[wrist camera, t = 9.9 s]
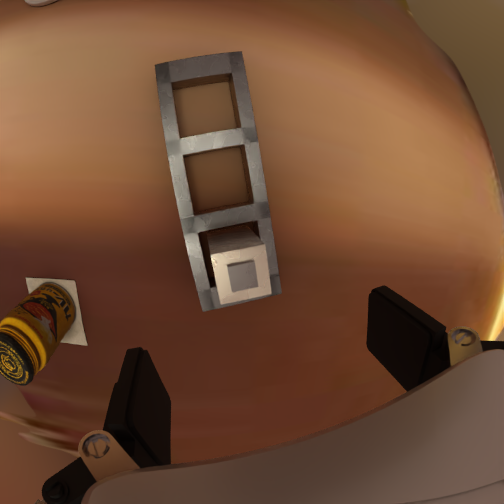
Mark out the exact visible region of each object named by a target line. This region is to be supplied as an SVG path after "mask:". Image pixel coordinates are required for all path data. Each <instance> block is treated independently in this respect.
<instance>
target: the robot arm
mask: <svg viewBox="0 0 504 504" xmlns="http://www.w3.org/2000/svg"><path fill="white" fill-rule="evenodd" d="M55 1H57V0H25V2H26V3H27V4H29V5H30V6H43V5H47V4H50V3H53V2H55ZM445 330H446V327H445V326H444V325H443V324H441V323H440V322H438V321H437V320H435V319H434V318H433V317H431V316H430V315H428V314H427V313H425V312H424V311H422V310H421V309H419V308H418V307H417V306H415V305H414V304H412V303H411V302H409V301H408V300H406V299H405V298H403V297H402V296H400V295H399V294H397V293H396V292H394V291H393V290H391V289H390V288H388V287H387V286H380V287H377V288H375V289H373V290H372V291H371V293H370V294H369V302H368V327H367V348H368V350H369V351H370V352H371V353H372V354H373V355H374V356H375V357H376V358H377V359H378V361H379V362H380V363H381V364H382V365H383V366H384V367H385V368H386V369H387V370H388V371H389V372H390V373H391V375H392V376H393V377H394V378H395V379H396V380H397V381H398V382H399V383H400V384H401V385H402V386H403V388H404V389H405V390H406V391H407V392H406V393H404V394H402V395H401V396H399V397H397V398H395V399H393V400H391V401H389V402H387V403H385V404H383V405H381V406H379V407H377V408H374V409H372V410H370V411H368V412H366V413H363V414H361V415H359V416H357V417H354V418H352V419H350V420H347V421H345V422H342V423H340V424H337V425H335V426H332V427H329V428H327V429H324V430H321V431H318V432H315V433H313V434H310V435H307V436H304V437H301V438H297V439H294V440H291V441H287V442H284V443H281V444H277V445H273V446H270V447H266V448H262V449H258V450H254V451H249V452H245V453H240V454H235V455H230V456H225V457H219V458H214V459H208V460H201V461H195V462H187V463H179V464H171V452H170V431H171V401H170V397H169V395H168V393H167V391H166V389H165V387H164V385H163V383H162V381H161V379H160V377H159V375H158V373H157V370H156V368H155V366H154V364H153V362H152V360H151V357H150V355H149V353H148V351H147V350H143V349H142V348H141V347H138V348H132V349H128V350H127V352H126V355H125V358H124V362H123V365H122V368H121V372H120V375H119V379H118V382H117V383H115V385H114V388H113V392H112V395H111V399H110V403H109V407H108V411H107V415H106V419H105V423H104V427H103V431H102V430H97V431H92V432H90V433H88V434H87V435H85V436H84V437H83V438H82V440H81V441H80V444H79V450H78V451H79V454H80V456H81V457H79V458H78V459H77V460H75V461H74V462H72V463H71V464H69V465H68V466H66V467H65V468H64V469H62V470H61V471H59V472H58V473H56V474H55V475H53V476H52V477H51V478H49V479H48V480H47V481H46V482H45V483H44V485H43V488H42V496H43V500H42V501H40V500H37V501H36V503H35V504H504V341H480V338H479V335H478V333H477V332H476V331H474V330H473V329H471V328H468V327H456V328H453V329H452V330H450V331H449V333H448V334H447V333H446V332H445Z"/></svg>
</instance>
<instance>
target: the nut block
mask: <svg viewBox="0 0 504 504" xmlns="http://www.w3.org/2000/svg"><path fill="white" fill-rule="evenodd" d="M207 237H208V243H209V249H210V255H211V260H212V265H213V270H214V275H215V280H216V285H217V289H218V294H219V299H220V304H221V305H222V304H227V303H231V302H236V301H241V300H246V299H251V298H255V297H260V296H264V295H269V294H272V292H271V285H270V277H269V269H268V262H267V254H266V247H265V244H264V243H263V242H262V241H261V240H260V239H259V237H258V236H257V235H256V234H255V233H254V232H253V231H252V230H251V229H250V228H249V227H248V226H247V225H244V226H238V227H233V228H228V229H222V230H217V231H212V232H207Z"/></svg>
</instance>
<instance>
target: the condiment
mask: <svg viewBox="0 0 504 504" xmlns="http://www.w3.org/2000/svg"><path fill="white" fill-rule="evenodd" d="M26 281H27V286H28V291H29V295H28V296H27V297H25V298H24V300H22V301H21V302H20V303H19V304H18V305H17V306H16V307H15V308H14V309H13V310H11V311H10V312H9V313H8V314H7V315H6V316H5V318H3V319H2V321H1V323H0V373H1V374H2V375H3V376H4V377H5V378H6V379H7V380H9V381H11V382H12V383H15V384H18V385H27V384H29V383H30V382H31V381H32V380H33V377H34V376H35V375H36V374H37V372H38V371H40V370H41V369H43V368H44V366H45V365H46V364H47V363H48V361H49V359H50V357H51V356H52V355H53V353H54V352H55V349H56V348H57V347H58V345H59V343H60V342H64V343H70V344H80V345H87V342H86V337H85V333H84V329H83V324H82V319H81V312H80V307H79V301H78V295H77V289H76V283H75V281H74V280H60V279H43V278H26ZM70 327H71V328H70ZM69 329H70V330H69Z"/></svg>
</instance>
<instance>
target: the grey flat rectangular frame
mask: <svg viewBox="0 0 504 504" xmlns="http://www.w3.org/2000/svg"><path fill="white" fill-rule="evenodd" d="M155 71H156V79H157V87H158V95H159V103H160V110H161V117H162V123H163V130H164V136H165V142H166V148H167V154H168V160H169V165H170V171H171V176H172V181H173V186H174V191H175V196H176V201H177V206H178V211H179V216H180V220H181V225H182V229H183V234H184V238H185V243H186V247H187V251H188V255H189V260H190V264H191V268H192V272H193V276H194V280H195V284H196V287H197V291H198V295H199V299H200V303H201V306H202V310H203V311H208V310H213V309H217V308H222V307H226V306H231V305H235V304H240V303H244V302H248V301H252V300H257V299H261V298H265V297H269V296H273V295H277V294H281V286H280V278H279V271H278V264H277V257H276V250H275V244H274V237H273V230H272V224H271V217H270V211H269V204H268V198H267V191H266V185H265V179H264V173H263V167H262V161H261V155H260V149H259V143H258V137H257V132H256V126H255V120H254V115H253V109H252V103H251V98H250V93H249V87H248V82H247V76H246V71H245V66H244V61H243V56H242V51H240V52H229V53H220V54H212V55H205V56H198V57H192V58H186V59H180V60H175V61H170V62H165V63H161V64H157V65H155ZM226 81H229V85H230V91H231V96H232V102H233V108H234V114H235V119H236V125H237V128H236V129H230V130H223V131H217V132H211V133H206V134H200V135H195V136H190V137H185V138H180V132H179V126H178V120H177V113H176V107H175V100H174V93H173V90H177V89H182V88H187V87H193V86H199V85H205V84H211V83H218V82H226ZM234 147H240V148H241V154H242V160H243V166H244V171H245V177H246V183H247V189H248V195H249V202H243V203H238V204H233V205H228V206H223V207H218V208H213V209H208V210H204V211H199V212H194V209H193V204H192V199H191V194H190V188H189V183H188V178H187V172H186V167H185V161H184V157H186V156H191V155H196V154H201V153H206V152H211V151H217V150H222V149H228V148H234ZM250 221H253V224H254V230H255V234H256V235H257V236H258V237H259V239H260V240H261V241H262V242H263V243H264V244H265V247H266V254H267V262H268V269H269V277H270V285H271V292H272V294H269V295H264V296H260V297H255V298H251V299H246V300H241V301H236V302H231V303H227V304H222V305H221V304H220V299H219V294H218V289H217V285H216V280H215V278H211V279H209V277H208V273H207V268H206V264H205V260H204V255H203V251H202V246H201V242H200V237H199V233H198V232H202V231H207V230H211V229H216V228H221V227H226V226H231V225H235V224H240V223H245V222H250Z"/></svg>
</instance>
